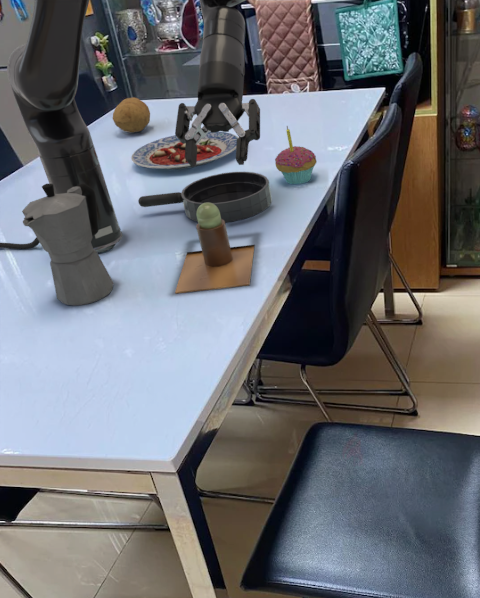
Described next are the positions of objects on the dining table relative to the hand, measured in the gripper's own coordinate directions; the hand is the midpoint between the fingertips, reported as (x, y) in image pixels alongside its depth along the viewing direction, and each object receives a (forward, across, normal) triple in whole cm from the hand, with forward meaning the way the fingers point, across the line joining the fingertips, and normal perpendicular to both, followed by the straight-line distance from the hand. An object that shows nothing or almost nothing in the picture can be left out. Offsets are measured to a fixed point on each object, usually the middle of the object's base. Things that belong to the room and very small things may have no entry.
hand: (215, 163), depth 119 cm
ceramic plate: (-24, -25, +44) cm, 56 cm away
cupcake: (-10, +6, +30) cm, 32 cm away
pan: (-1, -5, +20) cm, 21 cm away
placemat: (+16, 0, +4) cm, 16 cm away
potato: (-42, -49, +61) cm, 89 cm away
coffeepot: (+23, -19, -3) cm, 30 cm away
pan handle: (-1, -17, +17) cm, 24 cm away
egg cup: (+15, 0, +4) cm, 16 cm away
